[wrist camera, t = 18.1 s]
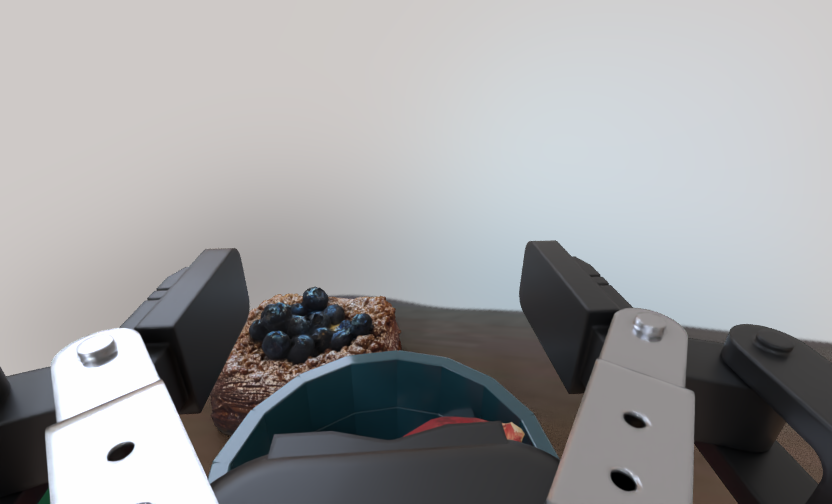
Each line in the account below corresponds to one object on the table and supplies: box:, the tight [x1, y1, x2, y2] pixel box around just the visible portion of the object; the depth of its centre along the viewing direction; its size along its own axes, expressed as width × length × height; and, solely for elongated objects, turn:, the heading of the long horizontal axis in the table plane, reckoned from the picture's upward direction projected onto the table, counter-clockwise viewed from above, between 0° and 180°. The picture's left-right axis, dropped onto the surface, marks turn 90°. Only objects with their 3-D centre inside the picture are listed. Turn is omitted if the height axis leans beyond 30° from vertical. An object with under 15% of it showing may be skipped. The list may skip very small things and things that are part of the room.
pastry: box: [210, 287, 402, 436], centre depth 27 cm, size 11×12×6 cm
